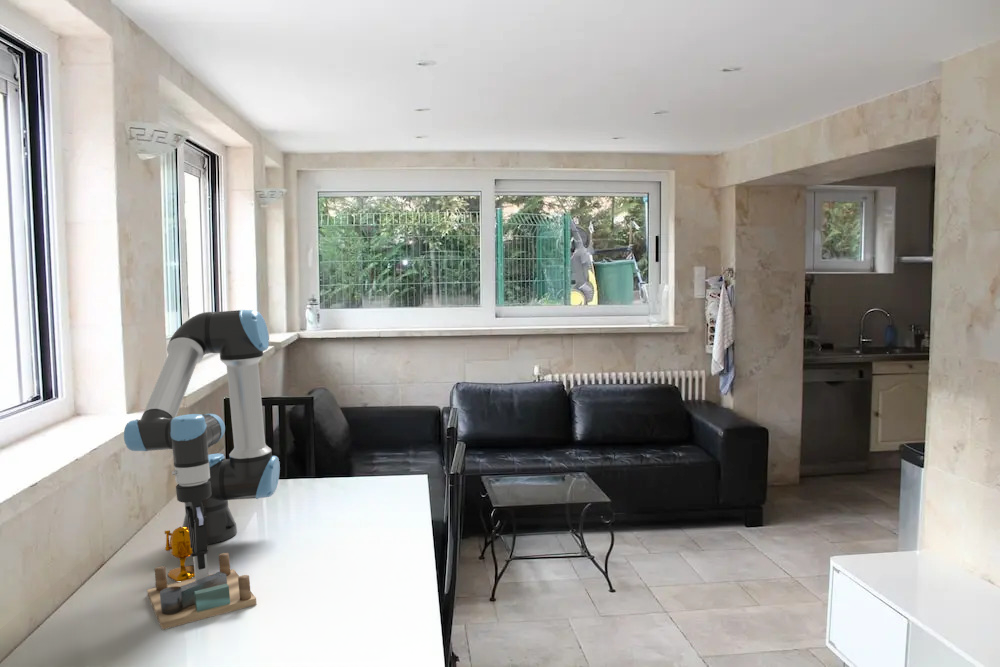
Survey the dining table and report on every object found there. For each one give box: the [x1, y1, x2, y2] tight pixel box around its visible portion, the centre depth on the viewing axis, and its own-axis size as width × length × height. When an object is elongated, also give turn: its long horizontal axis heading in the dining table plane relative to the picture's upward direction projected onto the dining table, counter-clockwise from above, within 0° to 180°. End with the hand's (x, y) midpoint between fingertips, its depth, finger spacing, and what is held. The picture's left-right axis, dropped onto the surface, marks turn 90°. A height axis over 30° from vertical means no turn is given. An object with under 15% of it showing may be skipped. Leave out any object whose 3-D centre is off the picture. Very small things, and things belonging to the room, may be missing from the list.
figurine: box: [164, 525, 195, 582], centre depth 200 cm, size 8×11×12 cm
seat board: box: [146, 552, 257, 630], centre depth 183 cm, size 22×20×6 cm
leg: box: [160, 571, 227, 614], centre depth 179 cm, size 15×4×4 cm, turn 143°
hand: (201, 580), depth 185 cm, fingers closed
